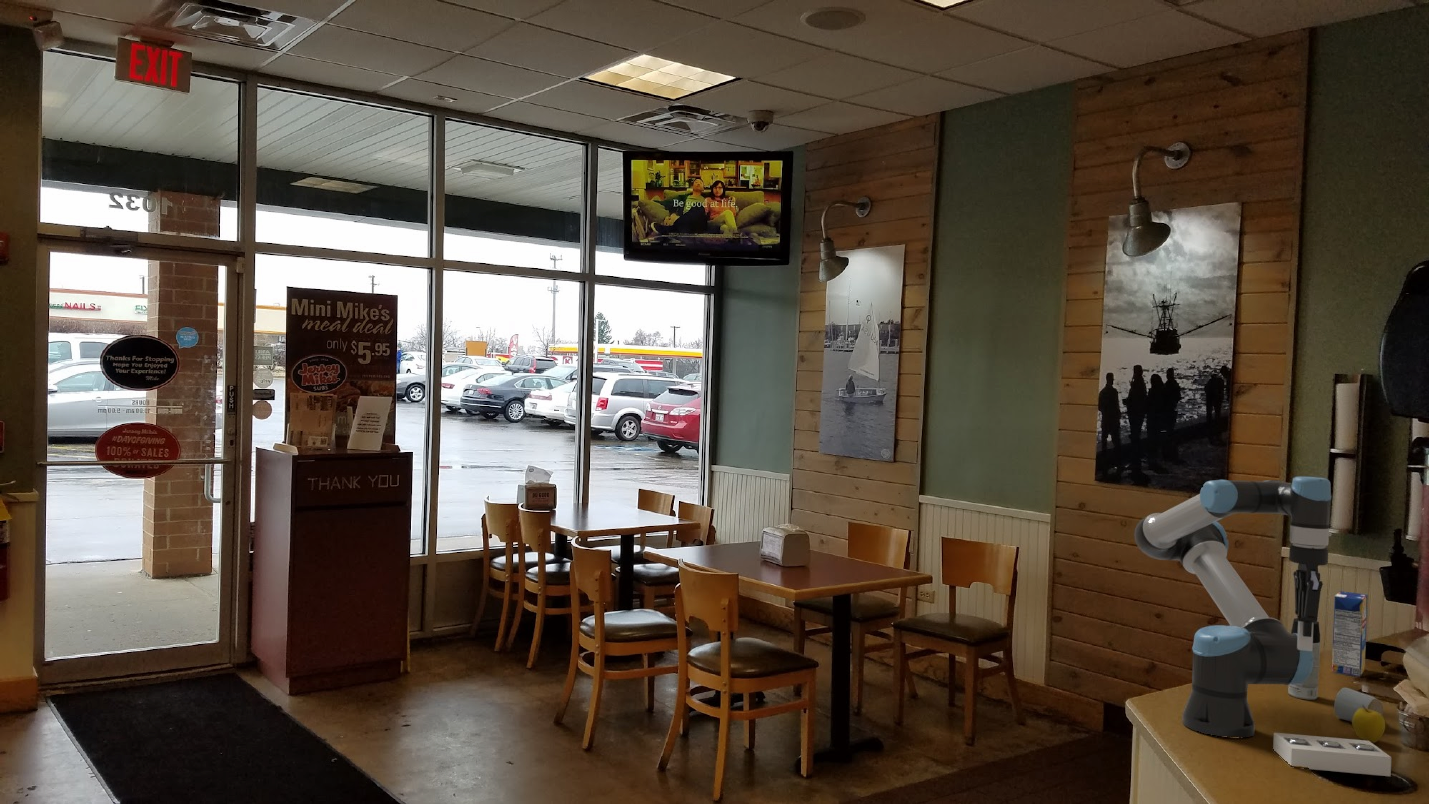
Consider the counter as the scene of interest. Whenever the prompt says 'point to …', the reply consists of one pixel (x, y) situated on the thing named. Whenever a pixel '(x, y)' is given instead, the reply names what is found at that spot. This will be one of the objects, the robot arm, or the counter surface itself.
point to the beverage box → (1349, 633)
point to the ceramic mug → (1354, 703)
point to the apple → (1368, 724)
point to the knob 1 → (1297, 741)
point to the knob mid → (1330, 744)
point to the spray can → (1310, 685)
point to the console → (1332, 755)
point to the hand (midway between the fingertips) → (1304, 649)
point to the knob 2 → (1363, 747)
